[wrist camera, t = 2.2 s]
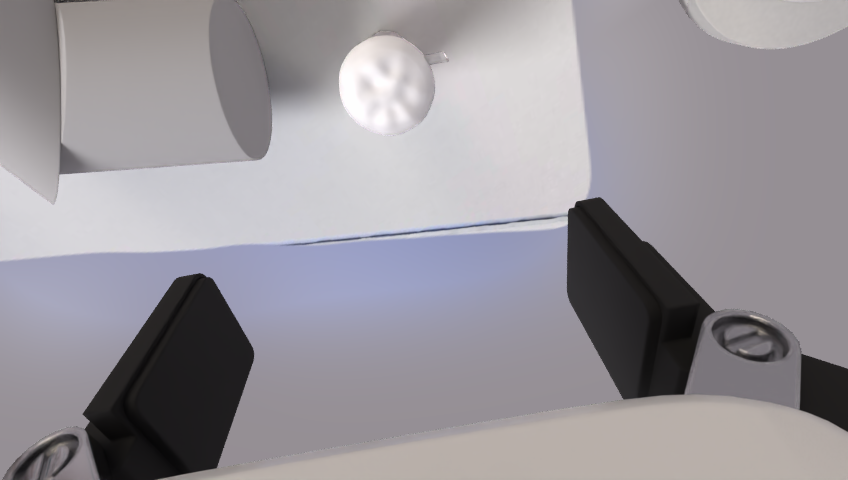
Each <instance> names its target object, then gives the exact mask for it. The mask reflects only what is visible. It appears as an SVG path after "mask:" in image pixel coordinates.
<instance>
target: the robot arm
mask: <svg viewBox="0 0 848 480" xmlns="http://www.w3.org/2000/svg"><path fill="white" fill-rule="evenodd" d="M780 1H787V2H798V3H805V2H816V1H822V0H780ZM567 293H568V298H569V301H570V303H571V305H572V307H573V308H574V310H575V312H576V314H577V316H578V318H579V319H580V321H581V323H582V325H583V327H584V328H585V330H586V332H587V334H588V336H589V338H590V339H591V341H592V343H593V345H594V347H595V349H596V350H597V352H598V354H599V356H600V358H601V359H602V361H603V363H604V365H605V367H606V369H607V370H608V372H609V374H610V376H611V378H612V379H613V381H614V383H615V385H616V387H617V388H618V390H619V392H620V394H621V396H622V398H623V399H624V400H618V401H611V402H604V403H598V404H591V405H585V406H578V407H572V408H565V409H558V410H552V411H545V412H539V413H534V414H527V415H522V416H516V417H510V418H504V419H498V420H492V421H486V422H480V423H474V424H468V425H462V426H456V427H450V428H444V429H438V430H433V431H427V432H421V433H415V434H409V435H403V436H397V437H392V438H386V439H380V440H374V441H368V442H363V443H357V444H351V445H346V446H340V447H334V448H328V449H323V450H317V451H311V452H306V453H300V454H295V455H288V456H283V457H277V458H272V459H266V460H261V461H255V462H249V463H244V464H238V465H233V466H228V467H222V468H217V466H218V463H219V459H220V457H221V454H222V451H223V448H224V445H225V442H226V439H227V436H228V433H229V431H230V428H231V425H232V422H233V419H234V416H235V413H236V410H237V407H238V404H239V401H240V398H241V396H242V393H243V390H244V387H245V384H246V381H247V378H248V375H249V372H250V369H251V366H252V364H253V359H254V351H253V347H252V346H251V344H250V343H249V340H248V339H247V337H246V335H245V334H244V332H243V330H242V328H241V326H240V325H239V323H238V321H237V320H236V318H235V316H234V315H233V313H232V311H231V309H230V308H229V306H228V304H227V302H226V301H225V299H224V297H223V296H222V294H221V292H220V290H219V289H218V287H217V286H216V284H215V282H214V280H213V279H212V278H210V277H206V276H205V275H203V274H200V273H199V274H193V275H189V276H183V277H179V278H176V280H175V281H174V282H173V283H172V285H171V286H170V288H169V289H168V291H167V292H166V293H165V295H164V296H163V298H162V299H161V301H160V302H159V304H158V305H157V307H156V308H155V310H154V311H153V313H152V314H151V315H150V317H149V318H148V320H147V321H146V323H145V324H144V325H143V327H142V328H141V330H140V331H139V333H138V334H137V336H136V337H135V339H134V340H133V341H132V343H131V345H130V346H129V347H128V349H127V350H126V352H125V353H124V355H123V356H122V357H121V359H120V360H119V362H118V363H117V365H116V366H115V368H114V369H113V371H112V372H111V374H110V375H109V376H108V378H107V379H106V381H105V382H104V384H103V385H102V387H101V388H100V390H99V391H98V392H97V394H96V395H95V397H94V398H93V400H92V401H91V403H90V404H89V406H88V407H87V409H86V410H85V411H84V413H83V415H84V416H85V417H86V418H87V419H88V420H89V421H90V422H89V424H88V425H87V427H86V428H85V429H83V428H80V427H67V428H64V429H61V430H58V431H55V432H53V433H51V434H50V435H48V436H46V437H44V438H42V439H41V440H39V441H38V442H36V443H35V444H34V445H32V446H31V447H30V448H28V449H27V450H26V451H25V452H24V453H23V454H22V455H21V456H20V457H19V458H17V460H16V461H15V462H14V463H13V464H12V466H11V467H10V468H9V469H8V470H7V473H6V474H5V476H4V478H3V480H848V369H847V368H844V367H841V366H837V365H834V364H831V363H828V362H825V361H822V360H818V359H816V358H812V357H809V356H806V355H803V354H801V348H800V344H799V341H798V340H797V339H796V337H795V336H794V334H793V333H792V332H791V331H790V330H789V329H787V328H786V327H785V326H783V325H782V324H781V323H779V322H777V321H775V320H773V319H771V318H770V317H768V316H765V315H762V314H759V313H756V312H752V311H746V310H740V309H726V310H721V311H717V312H715V311H714V310H713V309H712V308H711V307H710V306H709V305H708V304H707V303H706V302H705V301H704V300H703V299H702V297H701V296H700V295H699V294H698V293H697V292H696V291H695V290H694V289H693V288H692V287H691V286H690V285H689V284H688V283H687V282H686V281H685V280H684V279H683V278H682V277H681V276H680V275H679V274H678V272H676V270H675V269H674V268H673V267H672V266H671V265H670V264H669V263H668V262H667V261H666V260H665V259H664V258H663V257H662V256H661V255H660V254H659V253H658V252H657V251H656V250H655V248H654V247H652V245H650V244H649V243H648V242H645V241H642V240H641V239H640V238H639V237H638V236H637V235H636V234H635V233H634V232H633V231H632V230H631V229H630V228H629V227H628V226H627V225H626V223H624V222H623V220H622V219H621V218H620V217H619V216H618V215H617V214H616V213H615V212H614V211H613V210H612V209H611V208H610V207H609V205H608V204H607V203H606V202H605V201H604V200H603V199H602V198H600V197H598V198H593V199H587V200H582V201H577V202H576V204H575V208H570V209H569V211H568V252H567Z"/></svg>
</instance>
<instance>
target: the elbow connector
mask: <svg viewBox="0 0 848 480" xmlns="http://www.w3.org/2000/svg"><path fill="white" fill-rule="evenodd" d="M271 132H272V109H271V99H270V91H269V85H268V79H267V74H266V70H265V66H264V62H263V58H262V54H261V51H260V48H259V45H258V42H257V39H256V36H255V34H254V31H253V29H252V27H251V25H250V22H249V20H248V18H247V17H246V15H245V13H244V11H243V10H242V8H241V7H240V5H239V4H238V3H237V2H236V1H235V0H103V1H86V2H69V3H55V2H54V0H0V166H2V167H3V168H4V169H6V170H7V171H8V172H10V173H11V174H12V175H14V176H15V177H16V178H18V179H19V180H20V181H22V182H23V183H25V184H26V185H27V186H29V187H30V188H31V189H33V190H34V191H35V192H37V193H38V194H39V195H41V196H42V197H43V198H45V199H46V200H47V201H49V202H50V203H51V204H54V203H55V201H56V197H57V192H58V184H59V174H72V173H86V172H100V171H114V170H128V169H142V168H156V167H170V166H183V165H197V164H211V163H225V162H239V161H253V160H260V159H262V158H263V157H264V156H265V155H266V153H267V151H268V148H269V145H270V140H271Z"/></svg>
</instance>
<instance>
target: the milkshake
mask: <svg viewBox="0 0 848 480" xmlns="http://www.w3.org/2000/svg"><path fill="white" fill-rule="evenodd" d="M448 61H449V59H448V58H447V56H446V54H445V53H444V52H438V53H433V54H428V55H423V53H422V52H421V51H420V50H419V49H418V48H417V47H416V46H415V45H413V44H412V43H410V42H409V41H407V40H405V39H403V38H402V37H401V36H400V35H399V34H398V33H396V32H386V31H378V32H377V33H376V34H375V35H373V36H372V37H371V38H369V39H366V40H364V41H363V42H361V43H359V44H358V45H357V46H355V47H354V48H353V49H352V50H351V51H350V52H349V54H348V55H347V56H346V58H345V60H344V62H343V64H342V66H341V69H340V73H339V90H340V96H341V100H342V103H343V105H344V107H345V109H346V111H347V112H348V114H349V115H350V116H351V117H352V118H353V120H354V121H355V122H357V123H358V124H359V125H360V126H362V127H363V128H365V129H367V130H369V131H371V132H374V133H377V134H380V135H385V136H394V135H399V134H402V133H405V132H407V131H409V130H410V129H412V128H413V127H415V126H417V125H418V124H419V123H420V122H422V121H423V119H424V118H425V117H426V115H427V113H428V111H429V109H430V107H431V104H432V101H433V98H434V93H435V80H434V75H433V72H432V69H431V67H430V64H436V63H442V62H448Z"/></svg>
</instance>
